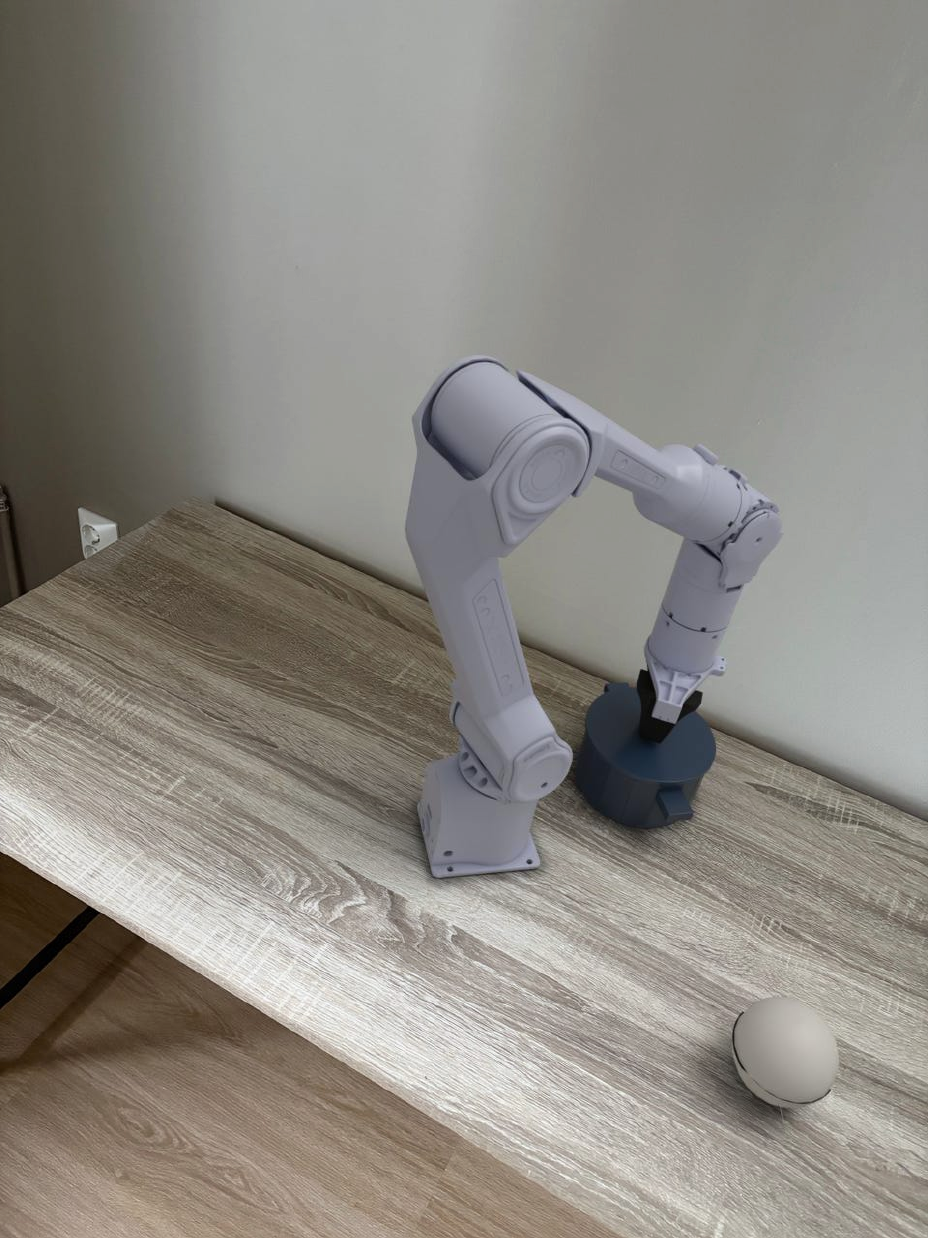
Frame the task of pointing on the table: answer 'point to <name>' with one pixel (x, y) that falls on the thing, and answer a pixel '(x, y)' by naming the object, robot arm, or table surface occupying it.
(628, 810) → the pot
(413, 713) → the table surface
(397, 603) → the table surface
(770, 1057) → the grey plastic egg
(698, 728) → the lid
